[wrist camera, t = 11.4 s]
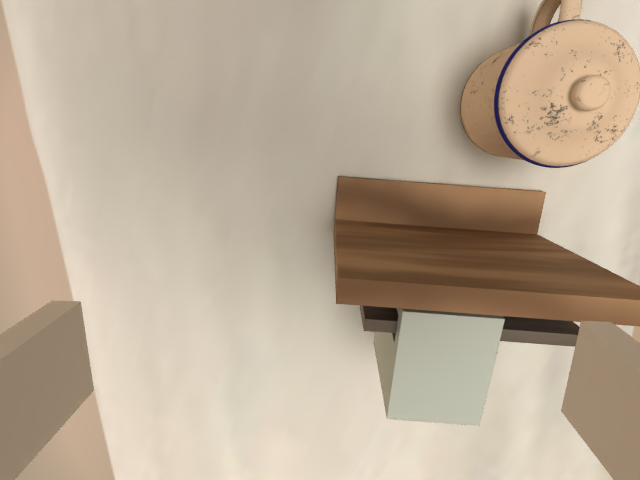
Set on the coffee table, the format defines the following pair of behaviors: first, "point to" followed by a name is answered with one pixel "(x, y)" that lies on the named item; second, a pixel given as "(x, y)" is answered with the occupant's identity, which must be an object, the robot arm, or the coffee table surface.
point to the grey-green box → (438, 365)
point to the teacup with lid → (554, 91)
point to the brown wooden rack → (467, 261)
